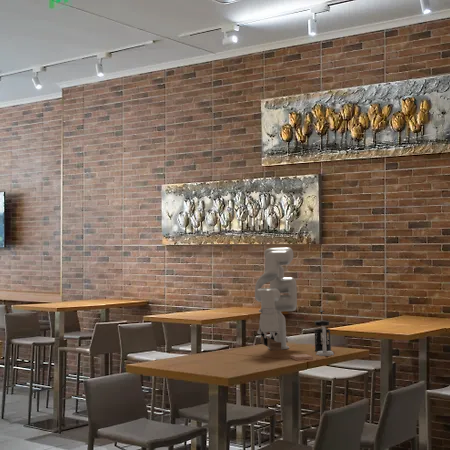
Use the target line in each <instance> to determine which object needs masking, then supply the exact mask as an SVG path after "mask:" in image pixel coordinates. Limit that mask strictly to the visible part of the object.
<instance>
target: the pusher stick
mask: <svg viewBox="0 0 450 450" xmlns="http://www.w3.org/2000/svg"><path fill="white" fill-rule="evenodd" d="M266 337H267V345H265V344H264V338H263V337H262V336H261V335H260V344H262V345H263V346H265V347H267V348H268V347H269V348H270V349H269V351H282V349H281V342H276V341H275V340H273V339H271V338H270V336H268V335H266Z"/></svg>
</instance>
